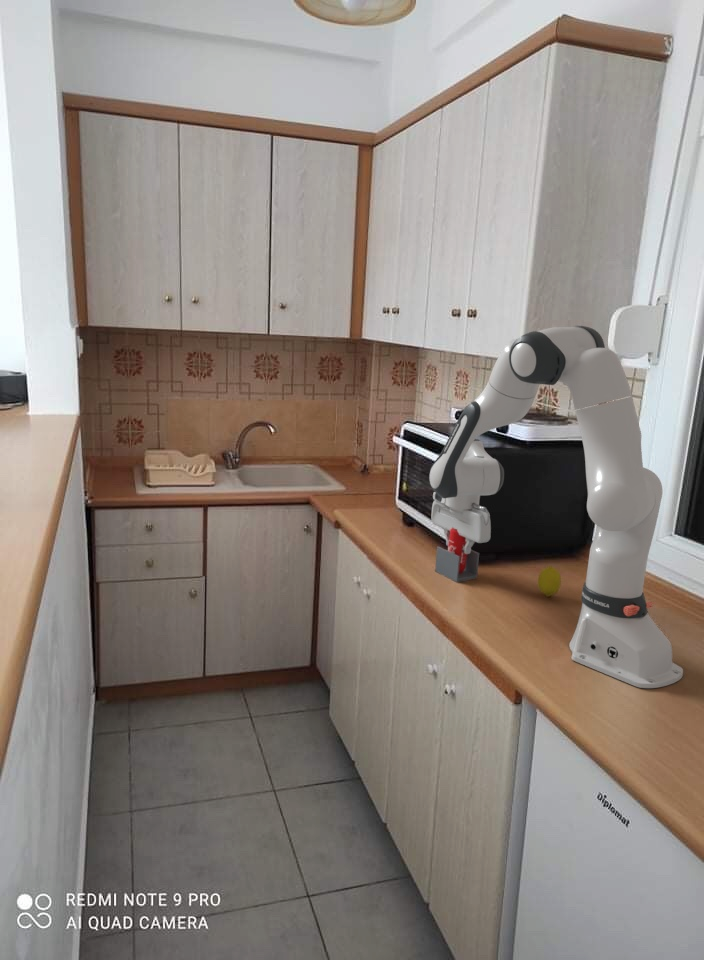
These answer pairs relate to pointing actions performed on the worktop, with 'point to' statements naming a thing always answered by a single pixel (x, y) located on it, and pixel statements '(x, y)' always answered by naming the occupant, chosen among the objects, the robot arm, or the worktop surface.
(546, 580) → the lemon
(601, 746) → the worktop surface
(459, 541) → the beverage can
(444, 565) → the bracket
